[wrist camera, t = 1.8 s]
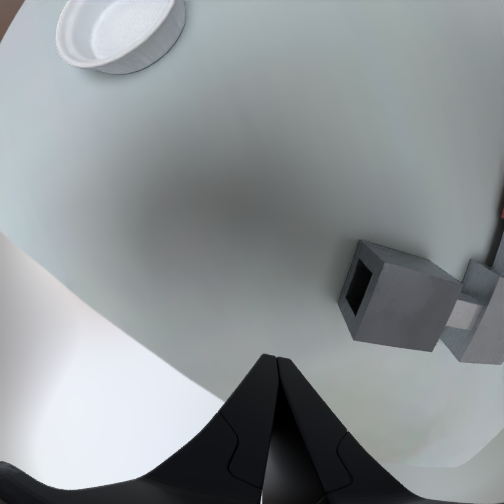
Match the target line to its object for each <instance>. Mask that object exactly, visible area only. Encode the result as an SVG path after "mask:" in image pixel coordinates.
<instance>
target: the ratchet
mask: <svg viewBox="0 0 504 504" xmlns="http://www.w3.org/2000/svg"><path fill="white" fill-rule="evenodd" d="M501 218H503V219H504V208H503V212H502V216H501ZM462 284H463V288H462V290H461V292H460V295H459V297H458V299H457V302H456V304H455V306H454V309H453V311H452V313H451V315H450V317H449V319H448V321H447V324H446V326H445V328H444V330H443V332H442V334H441V336H440V339H441V340H442V341H443V343H444V344H445V345H446V346H447V347H448V349H449V350H450V351H451V352H452V354H453V355H454V356H455V357H456V359H457V360H458V361H459V362H465V363H479V364H497V365H501V364H502V362H503V361H504V232H503V236H502V239H501V242H500V245H499V248H498V251H497V254H496V257H495V260H494V263H493V266H492V267H490V266H488V265H485V264H482V263H480V262H477V261H474V260H472V259H471V260H470V263H469V266H468V269H467V271H466V274H465V276H464V279H463V282H462Z"/></svg>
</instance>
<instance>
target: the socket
mask: <svg viewBox="0 0 504 504" xmlns="http://www.w3.org/2000/svg"><path fill="white" fill-rule="evenodd" d="M462 288H463V284H462V283H460V282H459V281H458V280H456V279H455V278H454V277H452V276H451V275H449V274H448V273H447V272H445V271H444V270H442V269H441V268H440V267H438V266H437V265H435V264H434V263H432V262H431V261H430V260H426V259H423V258H420V257H417V256H413V255H410V254H407V253H403V252H400V251H397V250H393V249H390V248H386V247H383V246H380V245H376V244H373V243H369V242H366V241H362V240H359V244H358V247H357V250H356V253H355V256H354V259H353V262H352V265H351V268H350V271H349V273H348V276H347V279H346V282H345V285H344V288H343V290H342V293H341V296H340V298H339V301H338V306H339V308H340V311H341V313H342V315H343V317H344V320H345V322H346V324H347V326H348V329H349V331H350V333H351V336H352V338H353V340H355V341H361V342H367V343H373V344H379V345H386V346H392V347H399V348H406V349H413V350H421V351H428V352H432V351H433V349H434V347H435V345H436V343H437V342H438V340H439V338H440V336H441V334H442V332H443V330H444V328H445V326H446V324H447V321H448V319H449V317H450V315H451V313H452V311H453V309H454V306H455V304H456V302H457V299H458V297H459V295H460V292H461V290H462Z"/></svg>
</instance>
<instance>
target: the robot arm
mask: <svg viewBox="0 0 504 504" xmlns="http://www.w3.org/2000/svg"><path fill="white" fill-rule="evenodd" d="M261 495H262V504H472V503H458V502H447V501H438V500H431V499H426V498H422V497H420V496H417V495H415V494H414V493H412V492H410V491H409V490H408V489H407V488H405V487H404V486H403V485H402V484H401V483H400V482H399V481H397V480H396V479H395V478H394V477H393V476H392V475H391V474H390V473H389V472H387V471H386V470H385V469H384V468H383V467H382V466H381V465H380V464H379V463H378V462H377V461H376V460H375V459H374V458H373V457H372V456H371V455H370V454H369V453H368V452H367V451H366V450H365V449H364V448H363V447H362V446H361V445H360V444H359V443H358V441H357V440H356V439H355V438H354V437H353V436H352V434H351V433H350V432H349V431H347V429H346V427H345V426H344V425H343V424H342V423H341V421H340V420H339V419H338V418H337V417H336V415H335V414H334V413H333V412H332V410H331V409H330V408H329V407H328V406H327V404H326V403H325V402H324V401H323V399H322V398H321V397H320V396H319V395H318V393H317V392H316V391H315V390H314V388H313V387H312V386H311V385H310V383H309V382H308V381H307V380H306V378H305V377H304V376H303V375H302V373H301V372H300V371H299V369H298V368H297V367H296V366H295V364H294V363H293V362H292V361H291V360H290V359H288V358H283V357H277V358H276V357H275V356H273V355H268V354H262V355H261V356H260V358H259V359H258V360H257V362H256V363H255V364H254V366H253V367H252V368H251V370H250V371H249V372H248V374H247V375H246V376H245V378H244V379H243V380H242V382H241V383H240V384H239V385H238V387H237V388H236V389H235V391H234V392H233V393H232V394H231V396H230V397H229V398H228V400H227V401H226V402H225V403H224V405H223V406H222V407H221V408H220V410H219V411H218V413H216V414H215V415H214V417H213V418H212V419H211V420H210V422H209V423H208V424H207V425H206V426H205V427H204V428H203V429H202V430H201V431H200V432H199V433H198V434H197V435H196V436H195V437H194V438H193V439H192V440H190V441H189V442H188V443H187V444H186V445H184V446H183V447H182V448H181V449H179V450H178V451H177V452H176V453H174V454H173V455H172V456H171V457H169V458H168V459H167V460H165V461H164V462H163V463H161V464H160V465H159V466H157V467H156V468H155V469H153V470H152V471H150V472H148V473H147V474H145V475H143V476H141V477H139V478H136V479H133V480H129V481H125V482H119V483H115V484H110V485H104V486H98V487H92V488H86V489H78V490H64V489H57V488H54V487H50V486H47V485H45V484H43V483H41V482H39V481H37V480H36V479H34V478H32V477H31V476H29V475H28V474H26V473H25V472H23V471H22V470H20V469H18V468H16V467H15V466H13V465H11V464H9V463H6V462H4V461H0V504H260V502H261ZM497 504H504V503H497Z"/></svg>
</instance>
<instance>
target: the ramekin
mask: <svg viewBox="0 0 504 504" xmlns="http://www.w3.org/2000/svg"><path fill="white" fill-rule="evenodd" d="M185 18H186V17H185V6H184V1H183V0H68V2H67V3H66V5H65V7H64V8H63V10H62V12H61V15H60V17H59V20H58V23H57V27H56V34H55V41H56V48H57V51H58V53H59V55H60V57H61V58H62V59H63V60H64V61H65V62H66V63H68V64H69V65H72V66H74V67H78V68H84V69H95V70H98V71H102V72H105V73H110V74H126V73H131V72H135V71H138V70H141V69H143V68H145V67H147V66H149V65H151V64H152V63H154V62H155V61H157V60H158V59H159V58H161V57H162V56H163V55H164V54H165V53H166V52H167V51H168V50H169V49H170V48H171V47H172V46H173V45H174V43H175V42H176V40H177V39H178V37H179V35H180V33H181V31H182V29H183V26H184V23H185Z"/></svg>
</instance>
